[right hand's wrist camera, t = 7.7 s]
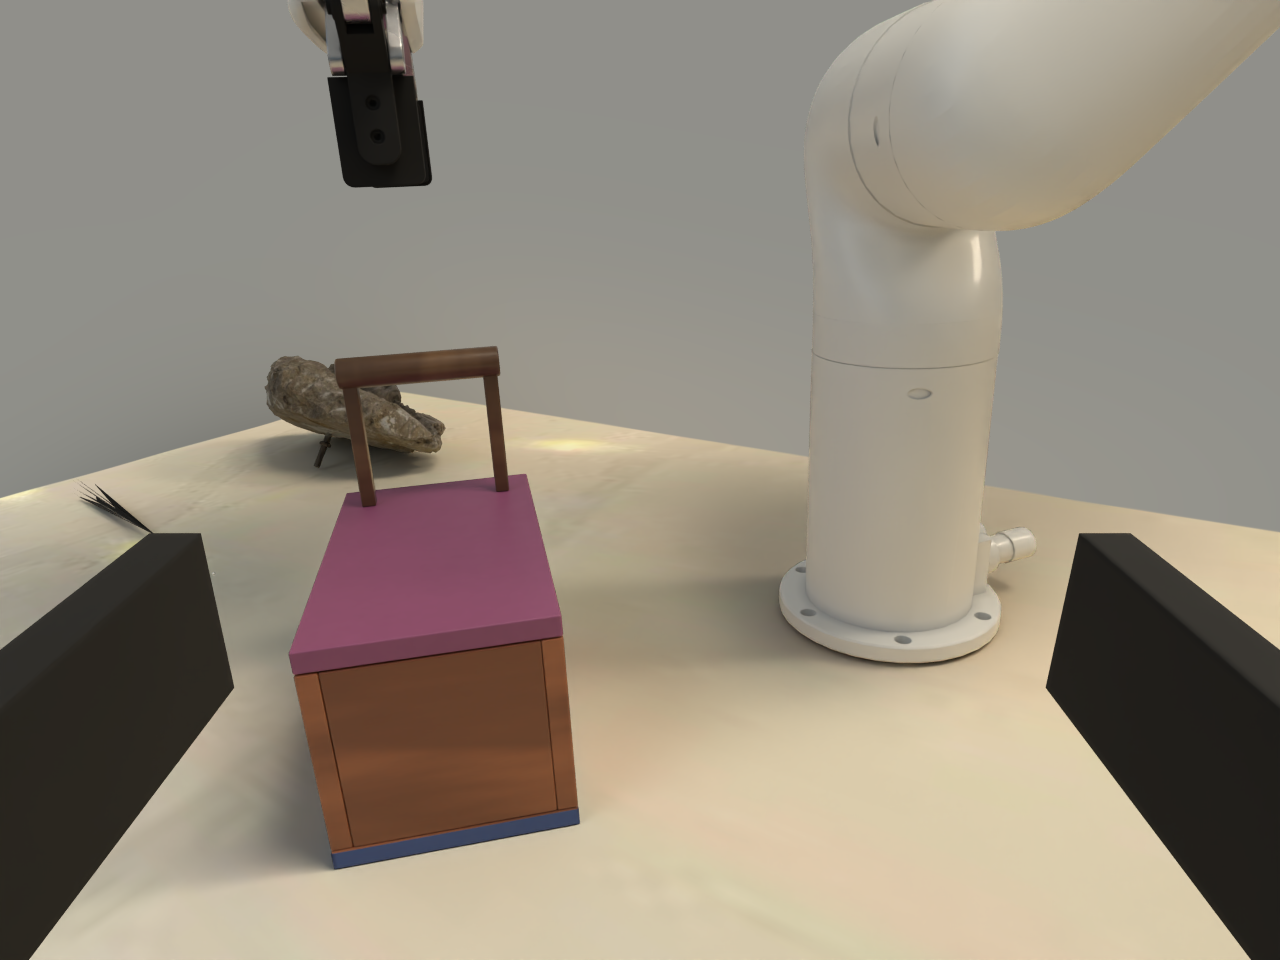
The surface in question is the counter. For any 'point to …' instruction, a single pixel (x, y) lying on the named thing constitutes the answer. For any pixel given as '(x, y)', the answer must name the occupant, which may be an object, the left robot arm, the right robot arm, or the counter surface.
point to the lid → (427, 545)
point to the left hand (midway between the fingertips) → (394, 186)
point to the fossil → (319, 407)
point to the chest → (441, 749)
